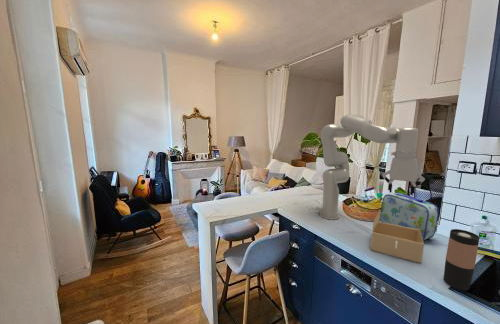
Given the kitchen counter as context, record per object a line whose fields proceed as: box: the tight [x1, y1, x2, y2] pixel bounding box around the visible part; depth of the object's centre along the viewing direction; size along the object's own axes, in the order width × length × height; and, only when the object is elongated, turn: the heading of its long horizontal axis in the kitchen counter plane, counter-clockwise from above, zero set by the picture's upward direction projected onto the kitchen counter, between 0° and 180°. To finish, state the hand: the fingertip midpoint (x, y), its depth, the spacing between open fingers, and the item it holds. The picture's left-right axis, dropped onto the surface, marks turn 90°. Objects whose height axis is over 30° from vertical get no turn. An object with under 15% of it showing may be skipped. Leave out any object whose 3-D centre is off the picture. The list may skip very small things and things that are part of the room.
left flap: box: [372, 209, 381, 231], centre depth 106 cm, size 7×13×1 cm
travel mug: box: [443, 228, 480, 291], centre depth 79 cm, size 8×8×20 cm
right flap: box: [414, 215, 424, 243], centre depth 98 cm, size 7×13×1 cm
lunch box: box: [380, 192, 440, 241], centre depth 119 cm, size 26×11×21 cm, turn 21°
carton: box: [369, 221, 425, 264], centre depth 102 cm, size 19×18×9 cm
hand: (400, 193), depth 100 cm, fingers open, 7 cm apart
